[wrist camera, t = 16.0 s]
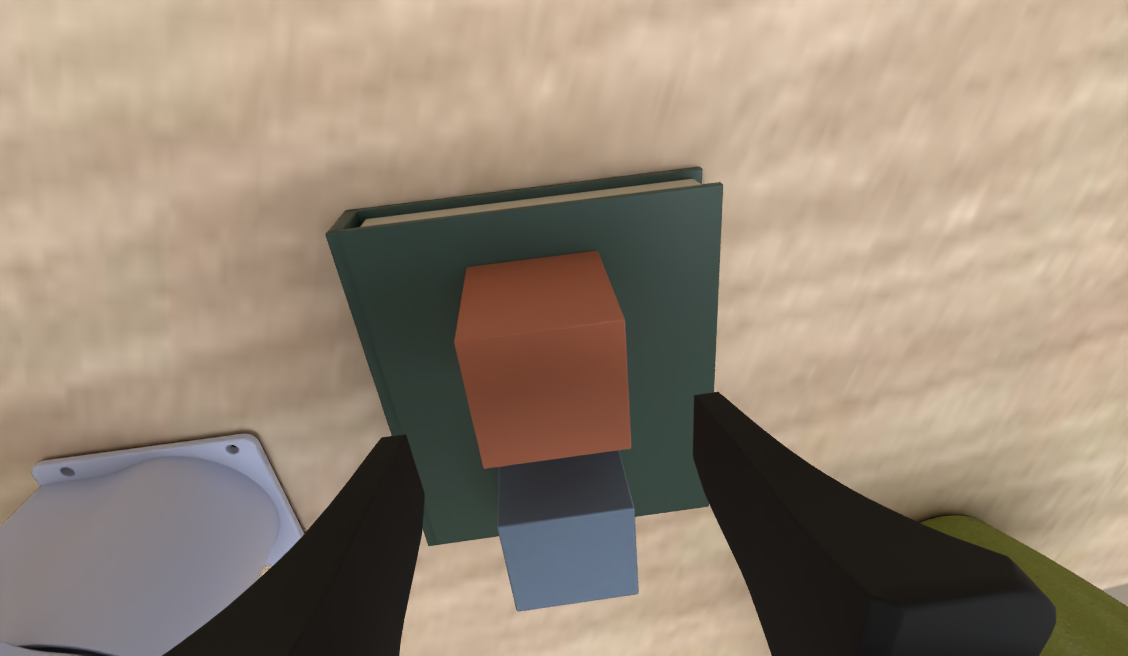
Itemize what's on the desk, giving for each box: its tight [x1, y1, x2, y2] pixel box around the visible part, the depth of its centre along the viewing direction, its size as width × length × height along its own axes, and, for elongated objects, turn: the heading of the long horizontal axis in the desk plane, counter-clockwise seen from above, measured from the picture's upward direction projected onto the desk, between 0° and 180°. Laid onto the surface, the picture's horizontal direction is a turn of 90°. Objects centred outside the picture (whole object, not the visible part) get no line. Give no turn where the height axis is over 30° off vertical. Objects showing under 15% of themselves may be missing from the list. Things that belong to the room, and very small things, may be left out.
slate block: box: [497, 450, 639, 611], centre depth 21 cm, size 4×4×5 cm
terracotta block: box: [454, 251, 631, 469], centre depth 18 cm, size 4×4×5 cm
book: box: [326, 167, 723, 546], centre depth 23 cm, size 13×15×2 cm
